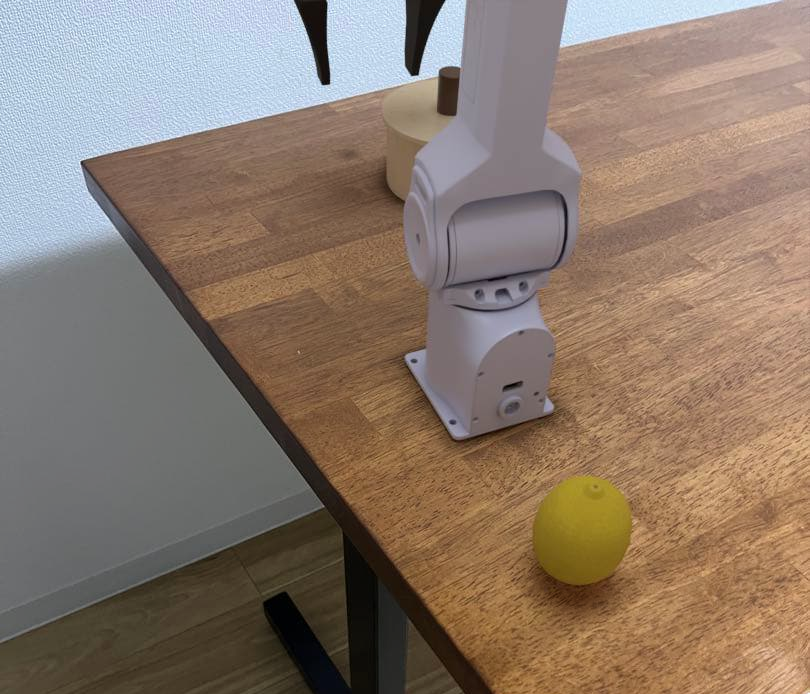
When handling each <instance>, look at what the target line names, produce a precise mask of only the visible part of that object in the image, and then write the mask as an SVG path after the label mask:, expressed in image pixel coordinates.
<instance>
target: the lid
mask: <svg viewBox="0 0 810 694" xmlns="http://www.w3.org/2000/svg"><path fill="white" fill-rule="evenodd" d="M460 69H461V66H456V65H448V66H443V67H441V68H440V69H439V70H438V73H437V74H438V75H437V76H438V77H437V79H427V80H421V81H416V82H413V83H409V84H406V85H404V86H400V87H399V88H397V89H395V90H393V91H392V92H390V93H389V94H388V95H387V96H386V97H385V99H384V100H383V102H382V104H381V107H380V114H381V120H382V122H383V124H384V126H385V127H386V129H387V128H388V129H389V130H390V131H391V132H392V133H394V134H395V135H397V136H399V137H400V138H402V139H404V140H407V141H409V142H412V143H415V144H418V145H422V146H425V145H426V144H427V143H428V142H429V141H430V140H432V139H433V138H434V137H435V136H436V135H437V134H438V133H439V132H440V131H442V130H443V129H444V128H445V127H446V126H447V125H448V124H449V123H450V122H451V121H452V120H453V119H454V118H455V117H456V115H457V104H458V92H459V80H460Z"/></svg>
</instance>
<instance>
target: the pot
mask: <svg viewBox="0 0 810 694" xmlns="http://www.w3.org/2000/svg"><path fill="white" fill-rule="evenodd" d="M423 147H424V146H422V145H418V144H415V143H412V142H409V141H407V140H404V139H402V138H400V137H399V136H397V135H395V134H394V133H392V132H391V131H390V130H389V129H388V128H387V127H386V182H387V186H388V188H389V189H390V190H391V192H392V193H393V194H394V195H395V196H396V197H397V198H398V199H400V200H402V201H403V202H405V201H406V199H407V197H408V194H409V191H410V186H411V179H412V169H413V167H414V165H415V156H416V154H417V153H418V152H419V151H420V150H421V149H422V148H423Z"/></svg>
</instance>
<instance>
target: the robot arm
mask: <svg viewBox="0 0 810 694" xmlns="http://www.w3.org/2000/svg"><path fill="white" fill-rule="evenodd" d="M404 1H405V35H404V51H403V52H404V67H405V69H406V71H407V72H408V74H409V75H410V76H411V77H419V75H420V70H421V66H422V61H423V58H424V54H425V50H426V47H427V43H428V40H429V37H430V35H431V32H432V30H433V27H434V24H435V22H436V21H437V20H436V19H437V18H438V16H439V14H440V12H441V10H442V8H443V6H444V4H445V2H446V1H447V0H404ZM293 2H294V4H295V6H296V9H297V10H298V14H299V16H300V18H301V21H302V24H303V27H304V29H305V33H306V34H307V38H308V41H309V43H310V48H311V51H312V54H313V59H314V63H315V68H316V75H317V78H318V80H319V82H320V84H321V86H330V85H331V67H330V65H331V64H330V57H329V47H328V6H329V2H328V1H327V0H293ZM568 3H569V0H465V10H464V23H463V34H462V35H463V36H462V47H461V58H460V68H461V69H460V80H459V92H458V104H457V115H456V117H455V118H454V119H453V120H452V121H451V122H450V123H449V124H448V125H447V126H446V127H445V128H444V129H443V130H442V131H440V132H439V133H438V134H437V135H436V136H435V137H434V138H433V139H432V140H430V141H429V142H428V143H427V144H426V145H425V146H424V147H423V148H422V149H421V150H420V151H419V152H418V153H417V154H416V156H415V165H414V167H413V169H412V179H411V186H410V191H409V194H408V197H407V199H406V201H404V205H403V218H402V221H403V237H404V243H405V249H406V255H407V258H408V262H409V266H410V269H411V270H412V273H413V275H414V278H415V279H416V280H417V281H418V282H419V283H420V284H421V285H422V286H423V287H424V289H426V290H428V302H427V318H426V319H427V321H426V341H425V349H420V350H416V351H412V352H409V353H407V354H405V357H404V362H405V364H406V366H407V367H408V369H409V370H410V372H411V374H412V375H413V377H414V378H415V380H416V381H417V384H418V385H419V387H420V388H421V390H422V391H423V393H424V395H425V396H426V398H427V399H428V401H429V402H430V404H431V406H432V407H433V409H434V411H435V412H436V414H437V415H438V417H439V419H440V421H441V422H442V423H443V425H444V426H445V428H446V430H447V432H448V433H449V435H450V436H451V438H452V439H453V440H455V441H462V440H466V439H469V438H472V437H476V436H479V435H483V434H487V433H490V432H494V431H497V430H500V429H504V428H507V427H510V426H514V425H518V424H521V423H525V422H527V421H531V420H535V419H538V418H541V417H545V416H548V415H551V414H553V412H554V410H555V405H554V404H553V403H552V401H551V400H550V398H549V397H548V396H547V395H548V390H549V387H550V382H551V377H552V372H553V367H554V363H555V358H556V351H557V345H556V340H555V337H554V336H553V334H552V332H551V330H550V329H549V328H548V326H547V324H546V322H545V319H544V317H543V314H542V311H541V307H540V301H539V290H540V289H543V288H547V287H549V284H550V279H551V273H552V270H559V269H561V268H563V267H565V266H566V265H567V263H568V262H569V261H570V259H571V256H572V254H573V252H574V250H575V248H576V245H577V242H578V237H579V231H580V211H579V210H580V209H579V196H580V187H581V180H582V176H583V173H582V170H581V168H580V165H579V162H578V160H577V157H576V155H575V153H574V151H573V150H572V149H571V146H570V145H569V144H568V143H567V142H566V141H565V140H564V139H563V138H562V137H561V135H559V134H558V133H556V132H555V131H554V130H553V129H551V128H550V127H548V126H547V121H548V114H549V110H550V109H549V108H550V103H551V97H552V92H553V87H554V80H555V76H556V70H557V65H558V60H559V59H558V58H559V54H560V53H559V52H560V47H561V42H562V36H563V30H564V25H565V20H566V19H565V18H566V14H567V8H568Z"/></svg>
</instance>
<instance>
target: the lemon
mask: <svg viewBox="0 0 810 694" xmlns="http://www.w3.org/2000/svg"><path fill="white" fill-rule="evenodd" d="M632 529H633V517H632V513H631V508H630V505H629V503H628V501H627V499H626V497H625V495H624V494H623V492H622V491H621V490H620V489H619V488H618V487H617V486H616V485H614V484H613V483H612V482H610V481H609V480H606V479H605V478H601V477H598V476H595V475H578V476H577V475H576V476H573V477H569V478H566V479H564V480H562V481H560V482H559V483H558V484H557V485H555V486H554V487H552V489H551V490H550V491H549V493H547V495H546V496H545V497H544V499H542V501H541V503H540V505H539V507H538V509H537V511H536V514H535V516H534V520H533V523H532V533H531V542H532V543H531V544H532V548H533V551H534V556H535V557H536V560H537V562H538V563H539V564H540V566H541V568H542V569H543V570H544V571H545V572H546V573H547V574H548V575H549V576H551V577H552V578H553V579H555V580H557V581H560V582H561V583H562V582H563V583H564V584H568V585H574V586H586V585H590V584H594V583H597V582H599V581H601V580H604V579H605V578H606V577H608V576H610V574H611V573H613V572H614V570H616V568H617V567H619V565H620V564H621V563H622V561H623V559H624V557H625V555H626V554H627V552H628V549H629V546H630V543H631V538H632V537H631V536H632Z"/></svg>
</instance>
